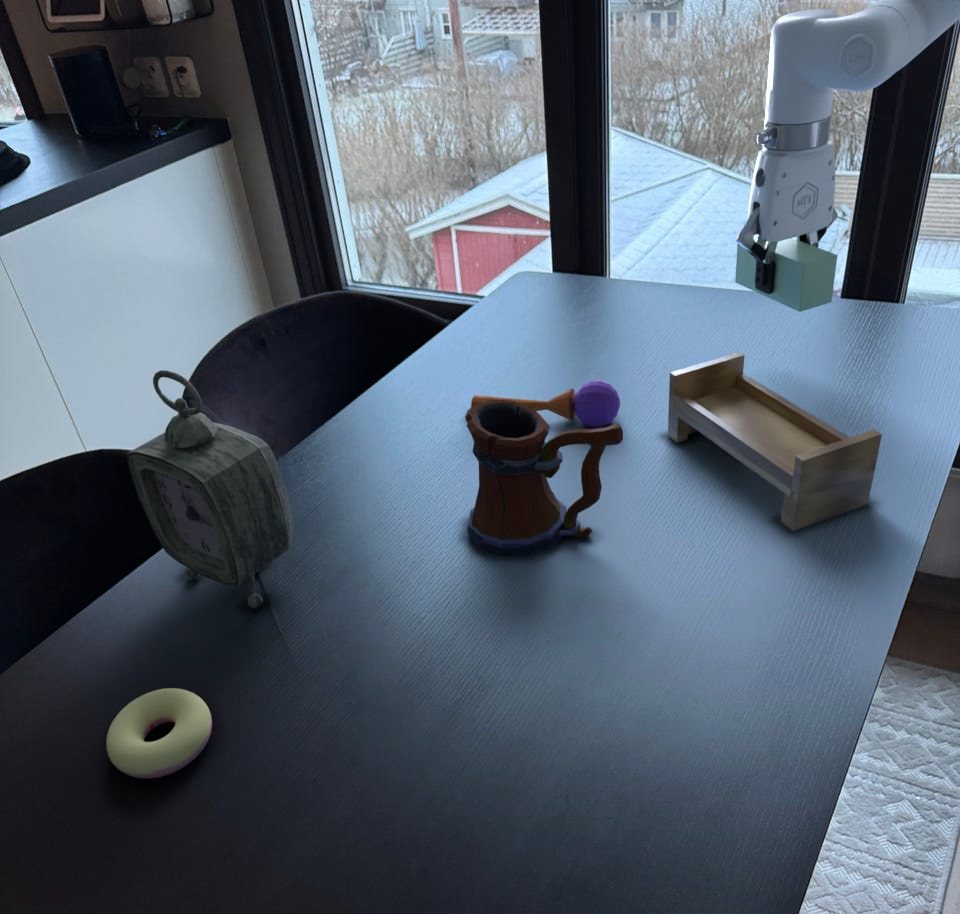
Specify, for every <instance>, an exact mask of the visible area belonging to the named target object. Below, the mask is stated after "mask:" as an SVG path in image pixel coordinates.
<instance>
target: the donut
mask: <svg viewBox="0 0 960 914" xmlns="http://www.w3.org/2000/svg"><path fill="white" fill-rule="evenodd" d="M167 723H174V727H173V728H172V729H171V730H170V732H169V733H168V734H166V735H165V736H163V737H161V738H159V739H157V740H153V741H145V740H146V737H147V736H148V734H149V733H150V732H151V731H152V730H153V729H156V727H158V726H160V725H163V724H167ZM212 728H213V719H212V713H211V711H210V709H209V707H208V705H207V703H206V702H205V701H204V700H203V698H201V697H200V696H199V695H198V694H196V693H194V692H193V691H189V690H187V689H183V688H175V687H169V688H168V687H167V688H160V689H156V690H152V691H150V692H147V693H145V694H142V695H140V696H138V697H137V698H135V699H133V700H132V701H130V702H129V703H128V704H127V705H126V706H124V707H123V708H122V709H121V710H120V711H119V712H118V713H117V715H116V716H115V717H114V719H113V720H112V722H111V724H110V726H109V728H108V731H107V735H106V740H105V741H106V742H105V743H106V744H105V745H106V752H107V756H108V758H109V759H110V761H111V763H112V765H113V766H114V767H115V768H116V769H117V770H119V771H120V772H121V773H123V774H125V775H127V776H130V777H132V778H137V779H158V778H161V777H165V776H169V775H171V774H174V773H175V772H178V771H180V770H181V769H183V768H185V767H186V766H188V765H189V764H190V763H192V762H193V761H194V760H195V759H196V758H198V756H199V755H200V754H201V753H202V752H203V750H204V748H205V747H206V745H207V743H208V742H209V739H210V737H211V734H212Z"/></svg>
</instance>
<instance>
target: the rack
mask: <svg viewBox="0 0 960 914" xmlns="http://www.w3.org/2000/svg"><path fill="white" fill-rule="evenodd" d="M745 357H746V355H745V354H743V353H742V352H740V351H737V352H734V353H731V354H727V355H724V356H721V357H717V358H713V359H711V360H707V361H705V362H701V363H697V364H694V365H690V366H688V367H684V368H680V369H678V370H677V369H676V370H674V371H670V372H669V382H668V385H669V386H668V387H669V388H668V413H667V414H668V415H667V418H668V419H667V420H668V421H667V437H668V438H670V439H671V440H672V441H674V442H675V443H680V442H685V441H687V440H688V438H689V435H692V434H694V433H698V432H699V433H700V434H701V435H702V436H704V437H706V438H707V439H708V440H709V441H711V442H713V444H715V445H717V446H718V447H719V448H721V449H722V450H724V451H725V452H726V453H728V454H729V455H731V456H732V457H733V458H734V459H736V460H738V461H739V462H741V463H742V464H743V465H744V466H746V467H747V468H749V469H750V470H752V471H753V472H754V473H755V474H757V475H759V476H760V477H761V478H762V479H764V480H765V481H767V482H768V483H769V484H771V485H773V486H774V487H775V488H776V489H778V490H779V491H780V492H782V493H784V494H783V499H782V507H781V514H780V522H781V524H783V525H784V526H785V527H787V528H788V529H789V530H791V531H792V532H793V531H794V532H795V531H797V530H799V529H802V528H805V527H807V526H811V525H813V524H816V523H819V522H822V521H824V520H827V519H830V518H833V517H835V516H839V515H841V514H844V513H847V512H849V511H852V510H855V509H859V508H860V507H864V506H867V505H868V504H869V500H870V496H871V491H872V485H873V481H874V476H875V472H876V465H877V463H878V462H877V461H878V456H879V451H880V448H881V447H880V446H881V441H882V436H883V434H882V433H881V432H880V431H877V430H876V429H872V430H868V431H865V432H863V433H860V434H857V435H854V436H851V437H850V436H848V435H846V434H845V433H843V432H841V430H838V429H837V428H835V427H833V426H832V425H830V424H828V423H827V422H825V421H823V420H822V419H820V418H818V417H817V416H815V415H813V414H811V413H810V412H808V411H806V410H805V409H804V408H801V407H800V406H798V405H796V404H795V403H794V402H791V401H790V400H788V399H786V398H785V397H783V396H782V395H780V394H779V393H777V392H774V391H773V390H771V389H770V388H769V387H767V386H765V385H763V384H761V383H760V382H759V381H757V380H755V379H754V378H752V377H750V376H748V375H747V374H745V373H744V365H745Z"/></svg>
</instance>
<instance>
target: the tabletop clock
mask: <svg viewBox="0 0 960 914" xmlns="http://www.w3.org/2000/svg"><path fill="white" fill-rule="evenodd" d="M162 378H164V379H165V378H166V379H170V380H173V381H176V382H177V383H179V384H181V385H182V386H183V387H185V388H186V390H188V391H189V392H190V393H191V395H192V396H193V397H194V399H195V401H196V406H195V407H189V406H188V404H187V401H186V400H185V398H183V397H179V398H177V399H175V401H173V400H172V399H169V398H168V397H167V396H166V395H165V394H164V393H163V392H162V390H161V388H160V386H159V383H160V382H159V381H160V379H162ZM152 384H153V389H154V390H155V392H156V395H157V396H158V397H159V398H160V399H161V401H162V402H163V403H164V404H165V405H166V406H167V407H169V408H170V409H172V410H174V411H175V412H177V413H178V414H176V415H174V416H172V417H171V419H170V420H169V422H168V424H167V425H166V428H165V431H164V432H163V433H161V434H159V435H158V436H155V437H154V438H152V439H149V440H148V441H146V442H144V443H142V444H140V445H139V446H138V447H136V448H134V449H132V450H130V451H128V452H127V453H126V461H127V466H128V470H129V473H130V477H131V479H132V483H133V485H134V488H135V491H136V493H137V497H138V499H139V502H140V505H141V507H142V509H143V511H144V513H145V515H146V518H147V520H148V523H149V525H150V527H151V529H152V531H153V533H154V535H155V537H156V538H157V540H158V542H159V544H160V546H161V547H162V549H163V550H164V552H165V553H166V554H167V555H168V556H170V557H171V559H173V560H175V561H176V562H178V563H179V564H180V565H182V566H184V567H186V568H184V569H185V570H184V573H185V575H186V576H187V578H189V579H190V580H191V579H197V578H198V577H199V576H203V577H205V578H207V579H210V580H212V581H215V582H218V583H219V584H223V585H226V586H230V587H236V586H237V587H238V586H240V585H241V584H243V583H244V582H245V581H246V583H247V587H248V589H249V592H250V594H249V595H248V597H247V600H246V601H247V602H246V603H247V605H248V606H249V607H250V608H251V609H258V608H260V607H261V606H262V605H263V602H264V599H263V597H262V596H261V595H260V594H259V593H257V591H256V582H255V575H256V573H258V572H259V571H261V570H263V569H264V568H265V567H267V566H268V565H270V563H272V562H274V561H275V560H277V559H278V558H280V556H282V555H283V554H285V553H287V552H288V551H289V550H290V546H291V544H292V541H293V538H294V536H295V521H294V516H293V512H292V507H291V504H290V500H289V495H288V492H287V488H286V485H285V482H284V478H283V476H282V473H281V469H280V466H279V463H278V461H277V458H276V456H275V454H274V452H273V450H272V449H271V446H270V445H269V444H268V443H267V442H265V441H264V440H263V439H262V438H260V437H258V436H256V435H254V434H251V433H249V432H246V431H244V430H242V429H239V428H236V427H233V426H231V425H226V424H222V423H219V422H215V421H212V420H211V419H210V418H209V417H208V416H206V415H205V414H204V413H202V412H201V411H202V409H203V401H202V398H201V395H200V394H199V392H198V391H197V389H196V387H195V386H194V385H193V384H192V383H191V381H189V380H188V379H187V378H186V377H184V376H183V375H181V374H180V373H179V374H178V373H177V372H173V371H170V370H165V369H163V370H162V369H161V370H158V371H157V372H155V373H154V375H153V377H152Z"/></svg>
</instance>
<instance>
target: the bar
mask: <svg viewBox="0 0 960 914" xmlns="http://www.w3.org/2000/svg"><path fill="white" fill-rule="evenodd" d="M757 237H758V235H754V236H753V240H754V241H755V242H756V240H757ZM736 243H737V242H736ZM767 243H768V241H766V244H765V247H764V249H766V246H767ZM736 245H737V246H736V260H735V265H736V266H735V277H734V278H735V279H734V283H736V284H738V285H740V286H742V287H744V288H746V289H749V290H750V291H753V292H754V293H757V294H760V295H762V296H764V297H766V298H768V299H771V300H773V301H775V302H777V303H779V304H782V305H783V306H786V307H788V308H790V309H792V310H794V311H796V312H799V313H801V312H804V311H808V310H810V309H814V308H817V307H820V306H824V305H827V304H831V303H832V301H833V293H834V285H835V277H836V272H837V271H836V270H837V264H838V263H837V262H838V254H836V253H833V252H830V251H829V250H825V249H823V248H820V247H818V248H817V247H815V246H812V245H809V244H806V243H804V242H801V241H798V240H797V238H796V239H795V238H794V237H793V238H789V239H786V240H782V241H778V243H777V247H776V250H775V253H774V257H773V260H772V262H774V263H775V264H776V268H775V280H774V291H773V293H771V294H766V293H764V292H762V291H760V290H757V289H756V288H755V272H756V260H755V259H753V257H752V255H751V254H750V253H749V252H748V251H747V250H746V249H745V248H743V247H742V246H741V245H739V244H738V243H737V244H736Z"/></svg>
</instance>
